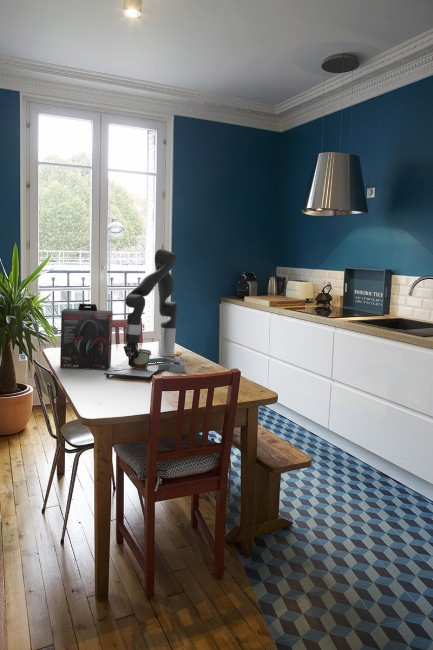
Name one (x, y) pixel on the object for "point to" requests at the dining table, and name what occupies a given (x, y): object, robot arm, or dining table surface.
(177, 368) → the frame
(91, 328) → the headset box
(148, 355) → the food container
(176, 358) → the pin
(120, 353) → the dining table surface
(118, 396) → the dining table surface
